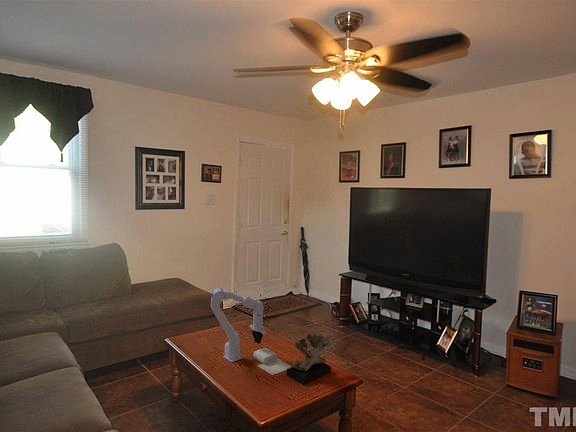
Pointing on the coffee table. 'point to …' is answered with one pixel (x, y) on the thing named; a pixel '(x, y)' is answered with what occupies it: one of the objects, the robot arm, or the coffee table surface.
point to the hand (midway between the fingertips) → (257, 342)
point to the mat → (275, 367)
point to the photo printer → (265, 355)
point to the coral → (310, 360)
